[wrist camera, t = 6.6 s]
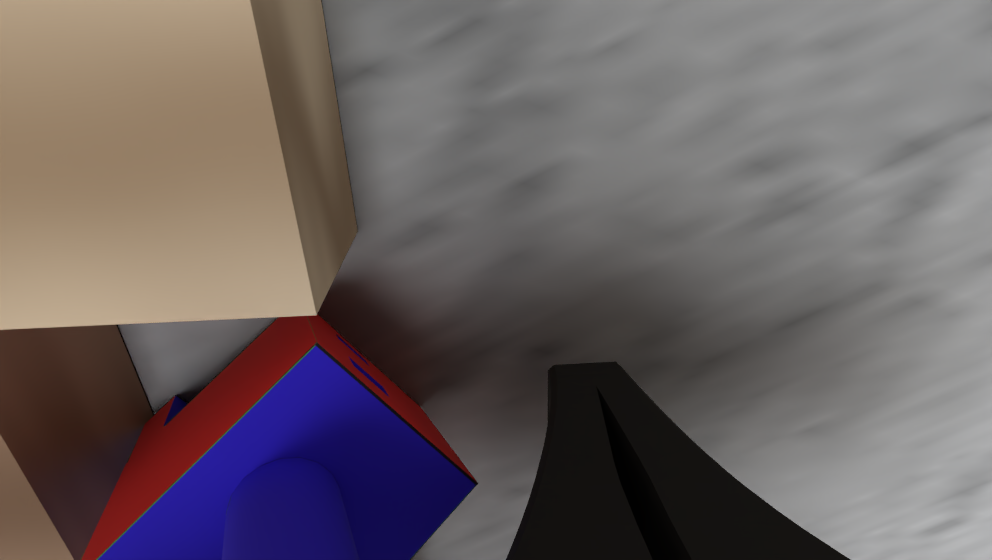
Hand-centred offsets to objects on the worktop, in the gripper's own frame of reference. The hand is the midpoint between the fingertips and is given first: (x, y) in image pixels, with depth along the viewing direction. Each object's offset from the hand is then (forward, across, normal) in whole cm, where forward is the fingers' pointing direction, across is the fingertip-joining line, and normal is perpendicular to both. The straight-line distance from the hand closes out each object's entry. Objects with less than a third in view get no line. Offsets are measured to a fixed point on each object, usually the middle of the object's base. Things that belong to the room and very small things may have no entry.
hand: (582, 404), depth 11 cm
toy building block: (+1, +6, 0) cm, 6 cm away
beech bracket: (+1, +7, 0) cm, 7 cm away
